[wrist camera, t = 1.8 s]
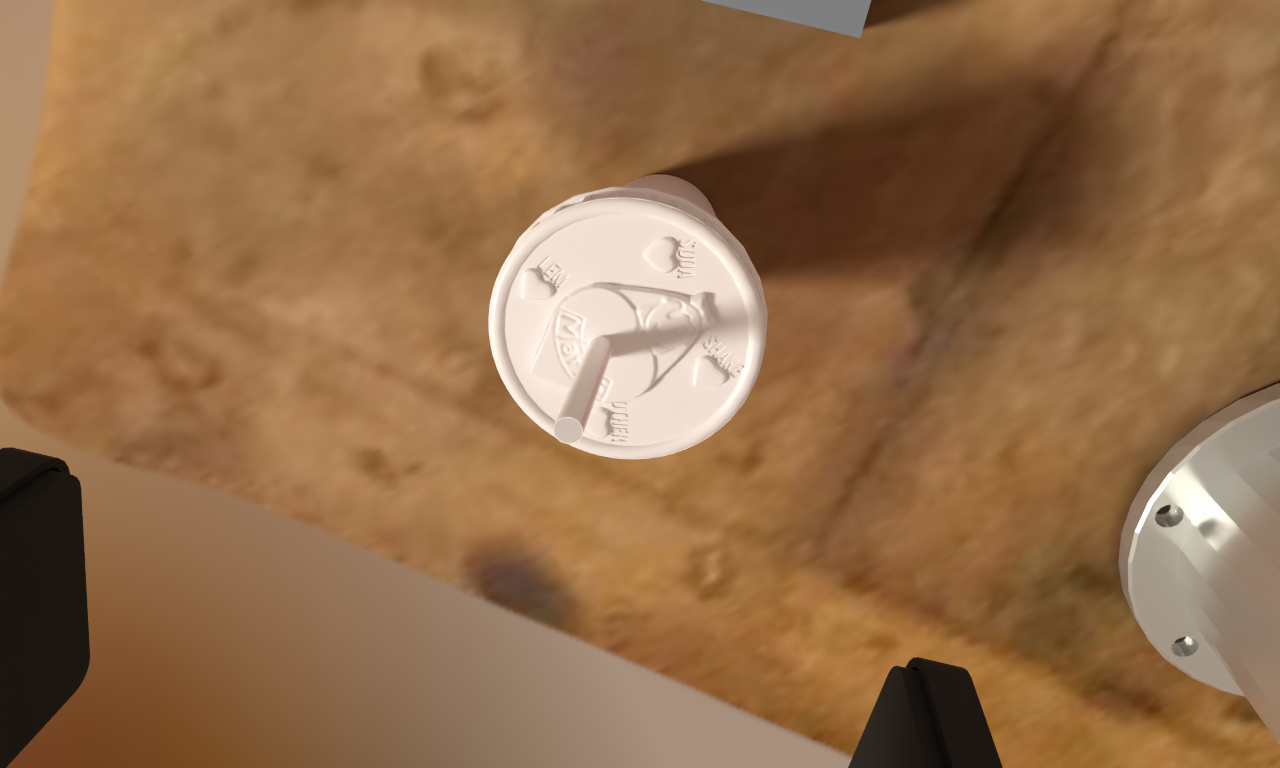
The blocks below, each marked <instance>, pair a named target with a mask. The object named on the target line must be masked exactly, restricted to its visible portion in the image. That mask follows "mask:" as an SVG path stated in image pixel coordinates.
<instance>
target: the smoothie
mask: <svg viewBox="0 0 1280 768" xmlns="http://www.w3.org/2000/svg"><path fill="white" fill-rule="evenodd" d="M767 315H768V312H767V308H766V303H765V298H764V293H763V289H762V284H761V279H760V277H759V275H758V273H757V271H756V269H755V267H754V265H753V264H752V262H751V260H750V258H749V256H748V254H747V252H746V250H745V248H744V246H743V245H742V244H741V243H740V242H739V241H738V240H737V239H736V238H735V237H734V236H733V235H732V234H731V232H730V231H729V230H728V229H727V228H726V227H725V226H724V225H723V224H722V223H721V222H720V221H719V220H718V219H717V217H716V214H715V212H714V210H713V208H712V206H711V204H710V202H709V201H708V199H707V198H706V197H705V195H704V194H703V193H702V192H701V191H700V190H699V189H698V188H697V187H695V186H694V185H693V184H691V183H689V182H688V181H686V180H684V179H681V178H679V177H675V176H671V175H664V174H655V175H648V176H644V177H641V178H638V179H636V180H634V181H632V182H630V183H628V184H626V185H624V186H622V187H608V188H604V189H600V190H596V191H592V192H588V193H583V194H579V195H575V196H573V197H572V198H570V199H568V200H566V201H564V202H563V203H561V204H559V205H557V206H555V207H554V208H552V209H550V210H548V211H546V212H545V213H543V214H542V215H541V216H540V217H539V218H538V219H537V220H536V221H535V222H534V223H533V224H532V225H531V226H530V227H529V228H528V229H527V230H526V231H525V232H524V233H523V234H522V235H521V236H520V237H519V238H518V240H517V242H516V244H515V246H514V248H513V249H512V251H511V253H510V254H509V256H508V257H507V259H506V261H505V262H504V264H503V266H502V268H501V270H500V272H499V274H498V277H497V279H496V282H495V285H494V288H493V291H492V296H491V301H490V308H489V337H490V344H491V349H492V354H493V357H494V360H495V364H496V367H497V369H498V371H499V374H500V376H501V378H502V380H503V382H504V384H505V386H506V388H507V390H508V391H509V393H510V394H511V395H512V397H513V398H514V400H515V401H516V402H517V404H518V405H519V406H520V407H521V409H522V410H523V411H524V412H525V413H526V414H527V415H528V416H529V417H530V418H531V419H532V420H533V421H534V422H535V423H537V424H538V425H539V426H540V427H541V428H543V429H544V430H545V431H547V432H548V433H550V434H551V435H553V436H554V437H556V438H557V439H558V440H559V441H561V442H563V443H566V444H569V445H571V446H573V447H575V448H578V449H581V450H583V451H586V452H589V453H593V454H596V455H600V456H605V457H611V458H619V459H647V458H655V457H661V456H665V455H669V454H673V453H676V452H679V451H682V450H685V449H687V448H689V447H691V446H694V445H696V444H698V443H700V442H701V441H703V440H705V439H706V438H708V437H710V436H711V435H712V434H714V433H715V432H717V431H718V430H719V429H720V428H721V427H723V426H724V425H725V424H726V423H727V422H728V421H729V420H730V419H731V418H732V417H733V416H734V415H735V414H736V413H737V411H738V410H739V409H740V407H741V406H742V405H743V403H744V402H745V400H746V399H747V397H748V395H749V394H750V392H751V390H752V388H753V386H754V384H755V381H756V379H757V376H758V373H759V370H760V367H761V363H762V359H763V353H764V349H765V343H766V329H767Z"/></svg>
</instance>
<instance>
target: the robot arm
mask: <svg viewBox="0 0 1280 768" xmlns="http://www.w3.org/2000/svg"><path fill="white" fill-rule="evenodd" d="M1118 563H1119V570H1120V577H1121V584H1122V591H1123V593H1124V595H1125V598H1126V600H1127V602H1128V605H1129V607H1130V610H1131V612H1132V614H1133V616H1134V618H1135V619H1136V621H1137V622H1138V624H1139V625H1140V627H1141V628H1142V630H1143V632H1144V633H1145V635H1146V636H1147V638H1148V640H1149V641H1150V643H1151V644H1152V645H1153V646H1154V647H1155V648H1156V649H1157V650H1158V652H1159V653H1160V654H1161V655H1162V656H1163V657H1164V658H1165V659H1166V660H1167V661H1168V662H1170V663H1171V664H1173V665H1174V666H1175V667H1177V668H1178V669H1180V670H1181V671H1183V672H1184V673H1186V674H1187V675H1189V676H1190V677H1192V678H1193V679H1195V680H1197V681H1200V682H1202V683H1204V684H1207V685H1209V686H1211V687H1214V688H1216V689H1218V690H1221V691H1223V692H1227V693H1231V694H1235V695H1239V696H1243V697H1246V698H1247V699H1248V701H1249V702H1250V704H1251V705H1252V706H1253V708H1254V709H1255V711H1256V712H1257V714H1258V715H1259V716H1260V718H1261V719H1262V721H1263V722H1264V723H1265V725H1266V726H1267V728H1268V729H1269V730H1270V732H1271V733H1272V735H1273V736H1274V738H1275V739H1276V740H1277V742H1278V743H1279V745H1280V383H1278V384H1275V385H1273V386H1270V387H1268V388H1266V389H1263V390H1261V391H1258V392H1256V393H1254V394H1251V395H1249V396H1247V397H1244V398H1242V399H1239V400H1237V401H1236V402H1234V403H1232V404H1231V405H1229V406H1227V407H1226V408H1224V409H1222V410H1221V411H1219V412H1217V413H1216V414H1214V415H1212V416H1211V417H1209V418H1208V419H1206V420H1204V421H1203V422H1201V423H1200V424H1199V425H1198V426H1197V427H1195V428H1194V429H1193V430H1192V431H1191V432H1189V433H1188V434H1187V435H1186V436H1185V437H1183V438H1182V439H1181V440H1180V441H1179V442H1177V443H1176V444H1175V445H1174V446H1173V447H1172V448H1171V449H1170V450H1169V451H1168V452H1167V454H1166V455H1165V456H1164V457H1163V458H1162V459H1161V461H1160V462H1159V463H1158V464H1157V465H1156V466H1155V468H1154V469H1153V470H1152V471H1151V472H1150V473H1149V475H1148V476H1147V478H1146V480H1145V481H1144V483H1143V485H1142V487H1141V488H1140V490H1139V492H1138V493H1137V495H1136V497H1135V499H1134V500H1133V502H1132V504H1131V506H1130V509H1129V512H1128V515H1127V518H1126V521H1125V524H1124V527H1123V530H1122V533H1121V542H1120V552H1119V562H1118ZM89 660H90V648H89V630H88V611H87V592H86V573H85V554H84V535H83V516H82V497H81V486H80V482H79V480H78V478H77V477H75V476H73V475H70V472H69V468H68V466H67V465H66V463H65V461H63V460H61V459H59V458H54V457H51V456H46V455H42V454H38V453H33V452H29V451H25V450H20V449H16V448H2V449H0V768H6V767H7V766H8V765H9V764H10V763H11V761H13V759H14V758H15V757H16V756H17V755H18V754H19V753H20V752H21V751H22V750H23V749H24V747H25V746H26V745H27V744H28V743H29V742H30V741H31V740H32V739H33V737H35V735H36V734H37V733H38V732H39V731H40V730H41V729H42V728H43V727H44V725H45V724H46V723H47V722H48V721H49V720H50V719H51V718H52V717H53V716H54V715H55V714H56V713H57V711H58V710H59V709H60V708H61V707H62V706H63V705H64V704H65V703H66V701H67V700H68V699H69V698H70V697H71V696H72V695H73V694H74V693H75V692H76V690H77V689H78V688H79V686H80V685H81V683H82V681H83V680H84V677H85V675H86V673H87V670H88V666H89V662H90V661H89ZM848 768H1003V767H1002V764H1001V761H1000V759H999V756H998V753H997V750H996V747H995V744H994V741H993V739H992V736H991V733H990V730H989V727H988V724H987V721H986V719H985V716H984V713H983V710H982V707H981V704H980V701H979V698H978V696H977V693H976V690H975V687H974V684H973V681H972V678H971V676H970V674H969V673H968V671H967V670H966V669H964V668H962V667H957V666H953V665H949V664H944V663H940V662H936V661H932V660H927V659H923V658H919V657H916V658H912V659H911V660H910V661H909V662H908V664H907V666H906V668H904V667H899V666H894V667H893V668H892V669H891V670H890V672H889V674H888V676H887V678H886V681H885V683H884V685H883V688H882V690H881V692H880V695H879V697H878V699H877V702H876V704H875V706H874V709H873V711H872V713H871V716H870V718H869V720H868V723H867V725H866V727H865V730H864V732H863V734H862V737H861V739H860V741H859V744H858V746H857V748H856V751H855V753H854V755H853V758H852V760H851V762H850V765H849V767H848Z"/></svg>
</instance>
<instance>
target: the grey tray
mask: <svg viewBox="0 0 1280 768" xmlns="http://www.w3.org/2000/svg"><path fill="white" fill-rule="evenodd" d="M701 1H705V2H710V3H714V4H718V5H722V6H727V7H731V8H735V9H739V10H743V11H748V12H752V13H756V14H760V15H765V16H769V17H773V18H777V19H781V20H786V21H790V22H794V23H798V24H803V25H807V26H811V27H815V28H819V29H824V30H828V31H832V32H836V33H841V34H845V35H849V36H853V37H857V38H860V37H861V34H862V30H863V27H864V24H865V20H866V17H867V14H868V10H869V7H870V3H871V0H701Z"/></svg>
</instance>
